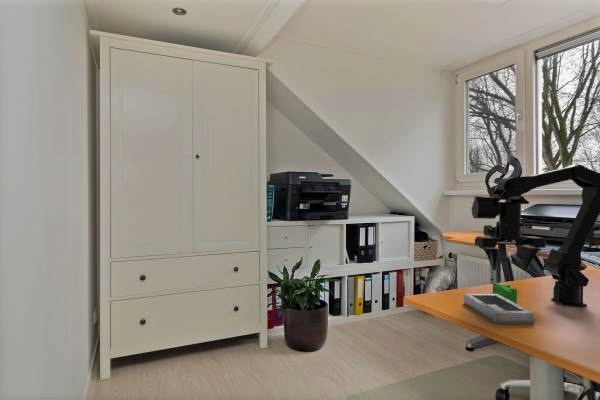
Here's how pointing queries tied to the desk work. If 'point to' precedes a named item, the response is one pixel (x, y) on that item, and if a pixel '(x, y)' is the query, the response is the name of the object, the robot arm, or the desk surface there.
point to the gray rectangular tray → (498, 309)
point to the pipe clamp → (505, 291)
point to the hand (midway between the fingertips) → (508, 270)
